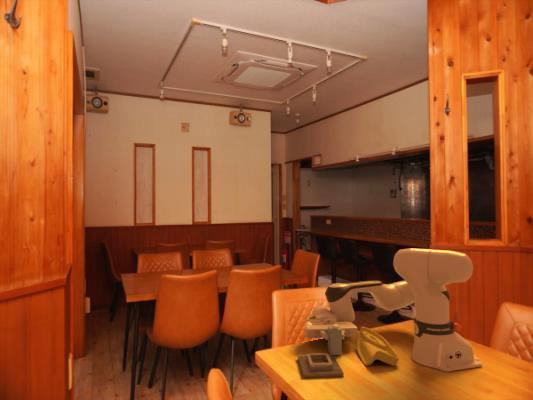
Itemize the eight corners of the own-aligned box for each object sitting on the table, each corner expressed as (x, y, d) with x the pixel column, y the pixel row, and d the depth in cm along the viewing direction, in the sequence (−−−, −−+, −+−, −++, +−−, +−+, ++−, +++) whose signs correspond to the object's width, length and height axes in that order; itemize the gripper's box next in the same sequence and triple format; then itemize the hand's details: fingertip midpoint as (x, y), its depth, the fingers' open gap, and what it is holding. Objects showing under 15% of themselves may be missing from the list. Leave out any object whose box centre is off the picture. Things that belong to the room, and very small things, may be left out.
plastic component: (401, 360, 123) (375, 348, 123) (391, 379, 124) (365, 367, 123) (381, 334, 143) (359, 324, 143) (373, 351, 144) (350, 341, 143)
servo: (338, 348, 138) (338, 321, 138) (341, 354, 133) (341, 326, 133) (328, 349, 138) (327, 322, 138) (331, 354, 133) (330, 326, 133)
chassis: (333, 358, 131) (333, 349, 131) (343, 376, 117) (343, 367, 117) (297, 359, 130) (297, 350, 130) (303, 378, 116) (303, 368, 116)
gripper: (352, 331, 149) (363, 345, 135) (302, 333, 148) (308, 347, 134) (352, 316, 149) (362, 328, 135) (302, 317, 148) (307, 330, 134)
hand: (335, 337), depth 134 cm, fingers closed on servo, 4 cm apart
